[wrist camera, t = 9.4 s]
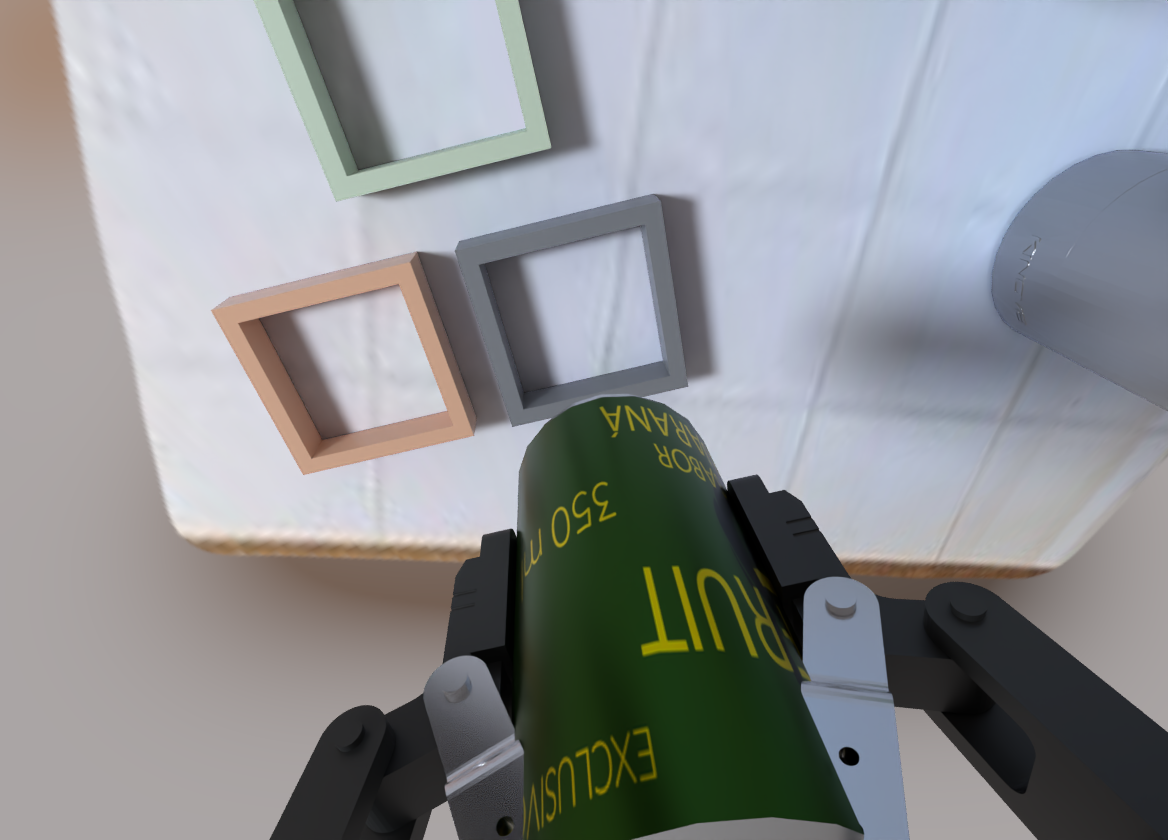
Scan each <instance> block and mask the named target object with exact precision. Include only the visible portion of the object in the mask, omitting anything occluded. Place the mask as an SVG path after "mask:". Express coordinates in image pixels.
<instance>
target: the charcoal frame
mask: <svg viewBox="0 0 1168 840" xmlns="http://www.w3.org/2000/svg"><path fill="white" fill-rule="evenodd" d="M637 226H641V232H642V238H643V244H644V250H645V256H646V261H647V267H648V273H649V279H650V285H651V291H652V297H653V303H654V309H655V315H656V321H657V327H658V333H659V339H660V345H661V351H662V357H663V361H661V362H657V363H652V364H648V365H644V366H639V367H635V368H631V369H627V370H622V371H618V372H614V373H609V374H605V375H601V376H596V377H592V378H588V379H583V380H579V381H575V382H571V383H566V384H562V385H558V386H553V387H549V388H545V389H540V390H536V391H532V392H527V393H524V392H523V388H522V385H521V382H520V379H519V375H518V372H517V369H516V365H515V362H514V359H513V356H512V352H511V349H510V346H509V342H508V339H507V336H506V333H505V329H504V326H503V323H502V320H501V316H500V313H499V310H498V306H497V303H496V300H495V297H494V293H493V290H492V287H491V284H490V280H489V277H488V274H487V270H486V267H485V264H484V263H488V262H492V261H496V260H501V259H505V258H509V257H513V256H517V255H521V254H525V253H529V252H534V251H538V250H542V249H546V248H550V247H554V246H558V245H563V244H567V243H571V242H575V241H579V240H583V239H587V238H591V237H596V236H600V235H604V234H608V233H612V232H616V231H620V230H625V229H629V228H633V227H637ZM455 253H456V256H457V259H458V262H459V265H460V268H461V271H462V274H463V277H464V281H465V284H466V287H467V290H468V293H469V296H470V299H471V302H472V305H473V308H474V311H475V314H476V317H477V320H478V323H479V326H480V329H481V333H482V336H483V339H484V342H485V345H486V348H487V351H488V354H489V357H490V360H491V363H492V366H493V369H494V372H495V375H496V378H497V381H498V385H499V388H500V391H501V394H502V397H503V400H504V403H505V406H506V409H507V412H508V415H509V418H510V421H511V424H512V427H514V426H518V425H523V424H527V423H531V422H536V421H540V420H545V419H549V418H553V417H554V416H556V415H557V414H559V413H560V412H562V411H563V410H565V409H566V408H568V407H569V406H571V405H572V404H574V403H575V402H579V401H582V400H585V399H588V398H591V397H594V396H598V395H601V394H631V395H635V396H638V397H645V396H649V395H653V394H658V393H662V392H666V391H671V390H675V389H679V388H684V387H688V382H687V375H686V368H685V361H684V354H683V348H682V341H681V334H680V327H679V321H678V314H677V307H676V300H675V293H674V287H673V280H672V273H671V266H670V259H669V253H668V246H667V239H666V232H665V225H664V219H663V212H662V205H661V201H660V200H659V199H658V198H657V197H656V196H655V195H654V194H651V195H647V196H642V197H638V198H634V199H630V200H626V201H622V202H618V203H614V204H610V205H606V206H602V207H597V208H593V209H589V210H585V211H581V212H577V213H573V214H569V215H565V216H561V217H556V218H552V219H548V220H544V221H540V222H536V223H532V224H528V225H524V226H520V227H515V228H511V229H507V230H503V231H499V232H495V233H491V234H487V235H483V236H479V237H475V238H470V239H466V240H462V241H459V243H458V245H457V247H456V250H455Z"/></svg>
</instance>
